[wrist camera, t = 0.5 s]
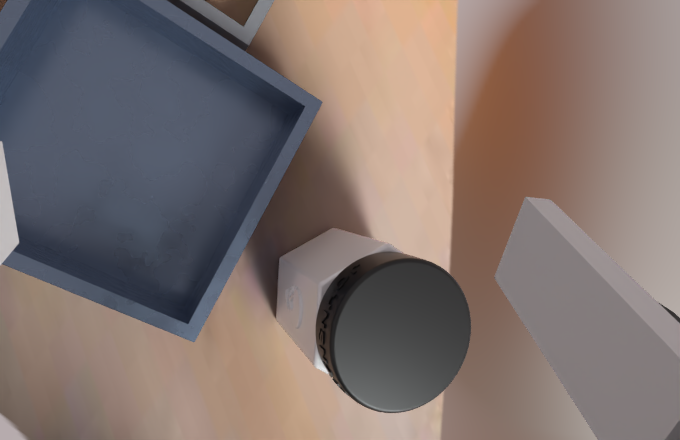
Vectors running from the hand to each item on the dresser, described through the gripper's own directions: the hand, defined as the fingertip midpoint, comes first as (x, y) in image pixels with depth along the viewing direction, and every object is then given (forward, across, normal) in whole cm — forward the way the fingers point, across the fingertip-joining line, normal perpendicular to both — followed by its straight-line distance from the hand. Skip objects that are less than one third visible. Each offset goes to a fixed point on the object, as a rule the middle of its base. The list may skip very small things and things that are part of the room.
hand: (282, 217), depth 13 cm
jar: (+18, -5, +16) cm, 24 cm away
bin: (+19, +8, +7) cm, 22 cm away
